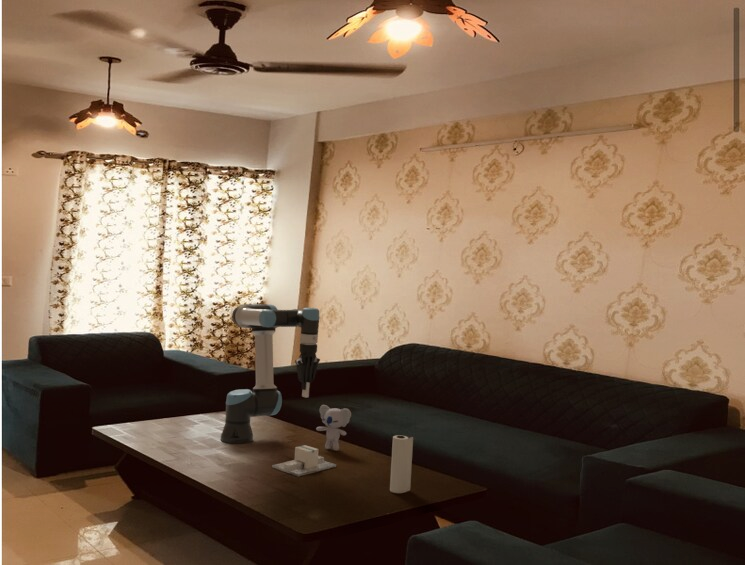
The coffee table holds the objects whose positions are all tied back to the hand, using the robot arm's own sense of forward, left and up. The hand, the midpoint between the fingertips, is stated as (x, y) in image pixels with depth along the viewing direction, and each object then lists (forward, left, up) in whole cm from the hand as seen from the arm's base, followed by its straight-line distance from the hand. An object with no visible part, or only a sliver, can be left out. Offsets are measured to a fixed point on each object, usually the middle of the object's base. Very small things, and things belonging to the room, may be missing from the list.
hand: (305, 396), depth 316 cm
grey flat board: (+9, -7, -28) cm, 30 cm away
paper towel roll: (+55, 0, -28) cm, 62 cm away
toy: (-3, +22, -28) cm, 36 cm away
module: (+9, -6, -27) cm, 29 cm away
